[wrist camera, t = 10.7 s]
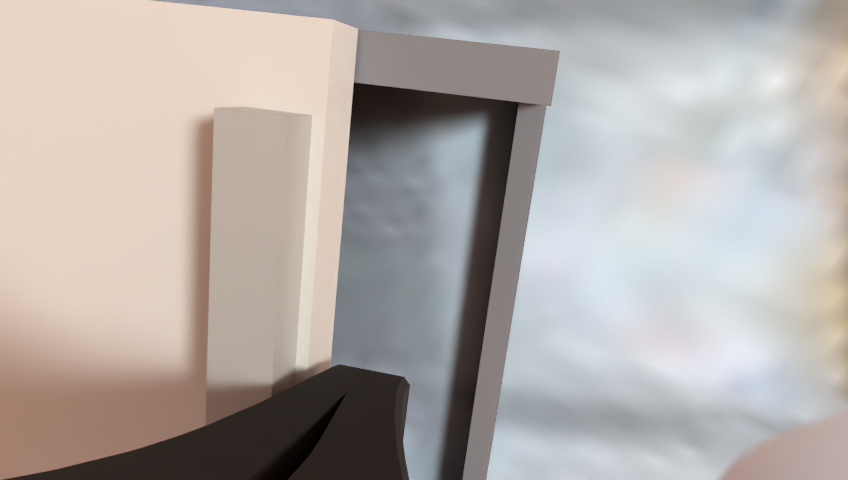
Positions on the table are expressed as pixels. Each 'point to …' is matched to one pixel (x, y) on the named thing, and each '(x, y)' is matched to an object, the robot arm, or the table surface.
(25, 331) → the lid
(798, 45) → the table surface
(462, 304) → the table surface
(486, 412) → the box
